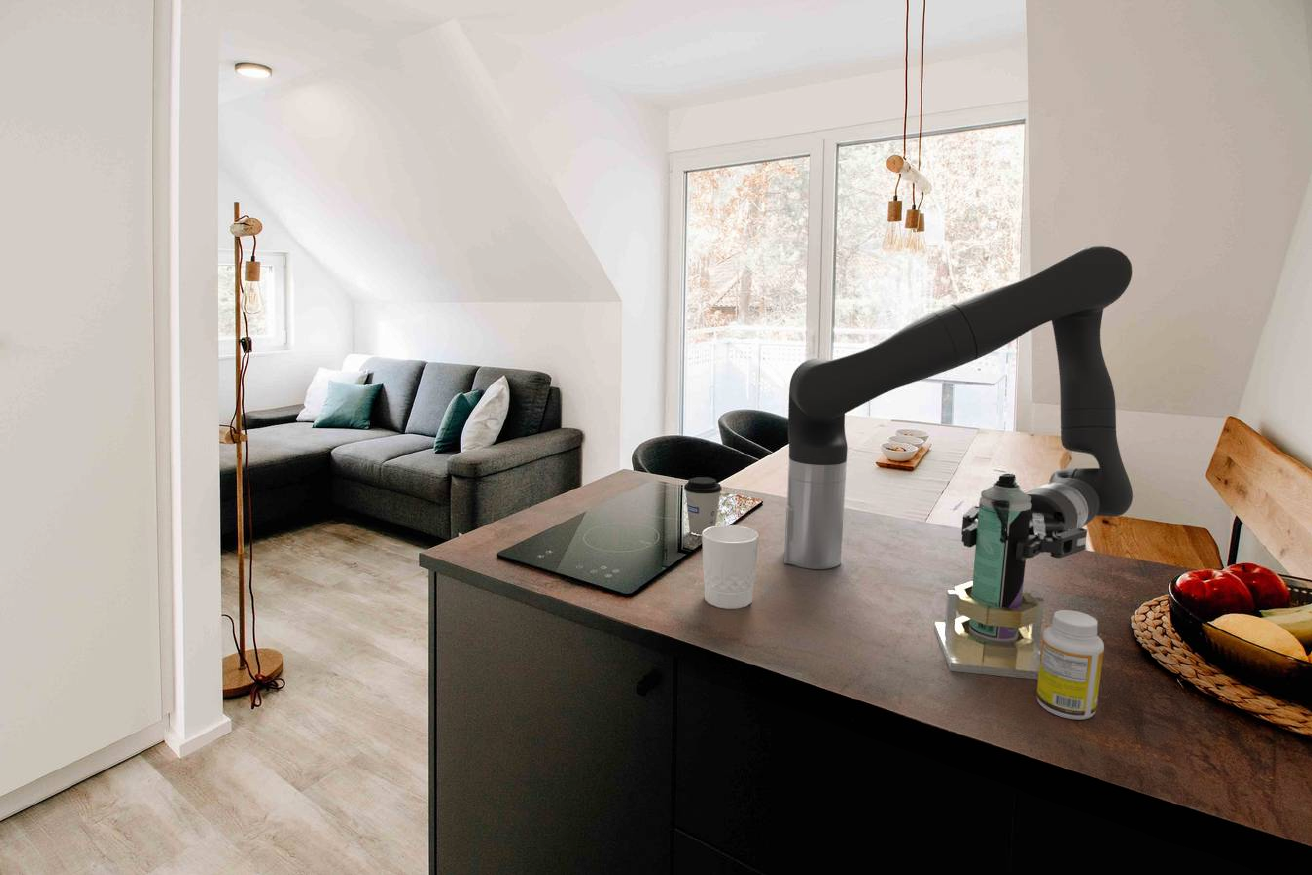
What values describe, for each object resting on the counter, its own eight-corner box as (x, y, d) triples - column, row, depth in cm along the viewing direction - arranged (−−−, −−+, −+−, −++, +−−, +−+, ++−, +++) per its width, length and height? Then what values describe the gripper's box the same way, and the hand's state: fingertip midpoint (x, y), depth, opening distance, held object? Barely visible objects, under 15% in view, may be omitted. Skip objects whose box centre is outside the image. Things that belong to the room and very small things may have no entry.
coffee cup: (715, 525, 136) (716, 475, 134) (725, 537, 129) (726, 484, 127) (679, 527, 134) (680, 476, 132) (687, 539, 128) (688, 485, 126)
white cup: (760, 592, 104) (763, 528, 103) (749, 614, 97) (751, 545, 95) (708, 585, 107) (710, 522, 105) (694, 606, 100) (695, 538, 98)
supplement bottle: (1068, 690, 78) (1079, 604, 77) (1108, 719, 73) (1121, 627, 71) (1023, 695, 78) (1033, 608, 76) (1060, 725, 72) (1072, 631, 70)
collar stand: (950, 670, 83) (955, 610, 81) (934, 628, 93) (938, 575, 92) (1053, 681, 80) (1060, 619, 79) (1024, 637, 91) (1030, 582, 90)
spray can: (1023, 646, 83) (1040, 481, 79) (974, 642, 84) (988, 479, 80) (1010, 625, 89) (1026, 470, 85) (964, 621, 90) (977, 468, 86)
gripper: (994, 477, 98) (935, 501, 87) (1112, 498, 88) (1063, 529, 76) (989, 529, 99) (931, 559, 88) (1105, 556, 89) (1056, 594, 78)
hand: (992, 545), depth 82 cm, fingers closed on spray can, 5 cm apart
